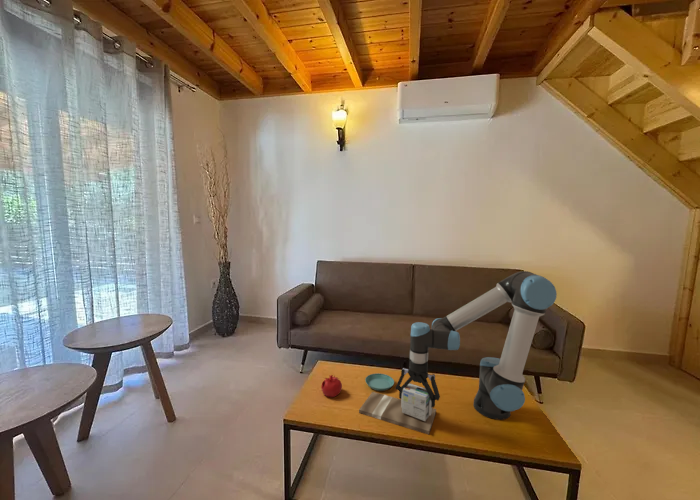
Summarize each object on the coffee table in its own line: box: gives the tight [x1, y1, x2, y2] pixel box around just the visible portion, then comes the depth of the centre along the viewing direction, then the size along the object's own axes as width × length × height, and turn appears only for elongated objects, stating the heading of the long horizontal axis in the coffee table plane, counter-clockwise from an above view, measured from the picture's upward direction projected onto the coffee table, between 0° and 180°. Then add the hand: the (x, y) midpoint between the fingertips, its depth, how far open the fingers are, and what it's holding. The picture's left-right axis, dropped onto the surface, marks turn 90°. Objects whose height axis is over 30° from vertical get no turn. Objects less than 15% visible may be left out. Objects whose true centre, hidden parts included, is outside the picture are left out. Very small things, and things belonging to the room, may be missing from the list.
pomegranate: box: [321, 374, 343, 398], centre depth 148 cm, size 10×10×9 cm
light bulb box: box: [402, 382, 430, 421], centre depth 130 cm, size 11×7×11 cm, turn 57°
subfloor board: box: [358, 391, 437, 436], centre depth 134 cm, size 30×16×2 cm, turn 65°
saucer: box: [364, 373, 395, 392], centre depth 157 cm, size 15×15×3 cm
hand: (416, 409), depth 131 cm, fingers closed on light bulb box, 11 cm apart
